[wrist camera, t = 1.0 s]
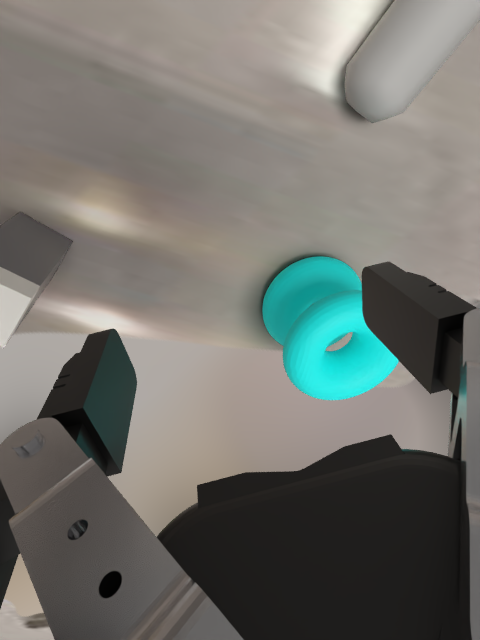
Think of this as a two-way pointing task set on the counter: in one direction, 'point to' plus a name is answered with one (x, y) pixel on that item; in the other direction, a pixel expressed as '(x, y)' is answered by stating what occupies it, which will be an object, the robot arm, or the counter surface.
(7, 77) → the counter surface
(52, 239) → the plug
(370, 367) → the donuts
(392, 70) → the tube
